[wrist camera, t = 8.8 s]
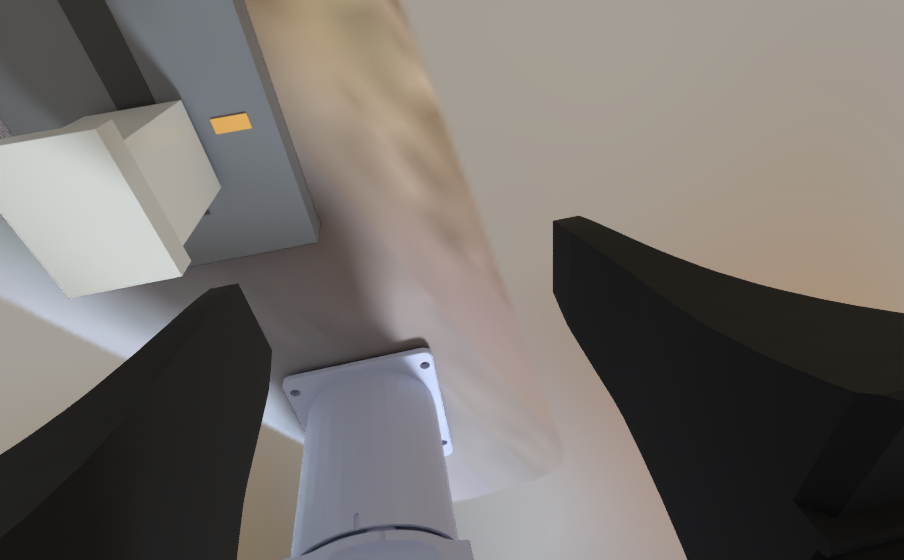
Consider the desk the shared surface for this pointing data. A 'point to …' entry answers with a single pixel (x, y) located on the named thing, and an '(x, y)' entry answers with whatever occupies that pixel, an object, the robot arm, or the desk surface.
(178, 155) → the fader tab
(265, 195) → the console
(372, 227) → the desk surface
